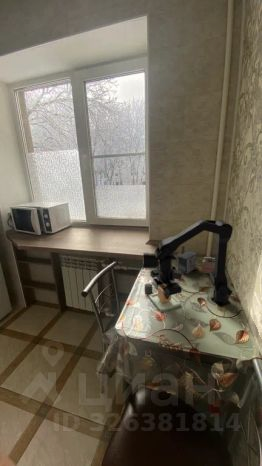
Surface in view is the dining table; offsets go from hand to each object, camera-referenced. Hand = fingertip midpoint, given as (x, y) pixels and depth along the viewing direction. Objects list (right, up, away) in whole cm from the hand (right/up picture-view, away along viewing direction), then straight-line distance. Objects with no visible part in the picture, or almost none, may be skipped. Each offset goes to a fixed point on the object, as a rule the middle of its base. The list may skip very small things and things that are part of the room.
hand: (164, 296), depth 100 cm
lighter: (+31, +6, +26) cm, 41 cm away
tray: (0, -3, +1) cm, 3 cm away
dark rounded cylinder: (-7, -1, +9) cm, 11 cm away
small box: (+18, +7, +30) cm, 36 cm away
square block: (0, -1, 0) cm, 2 cm away
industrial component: (+18, +11, +40) cm, 45 cm away
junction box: (+3, +2, +16) cm, 16 cm away
